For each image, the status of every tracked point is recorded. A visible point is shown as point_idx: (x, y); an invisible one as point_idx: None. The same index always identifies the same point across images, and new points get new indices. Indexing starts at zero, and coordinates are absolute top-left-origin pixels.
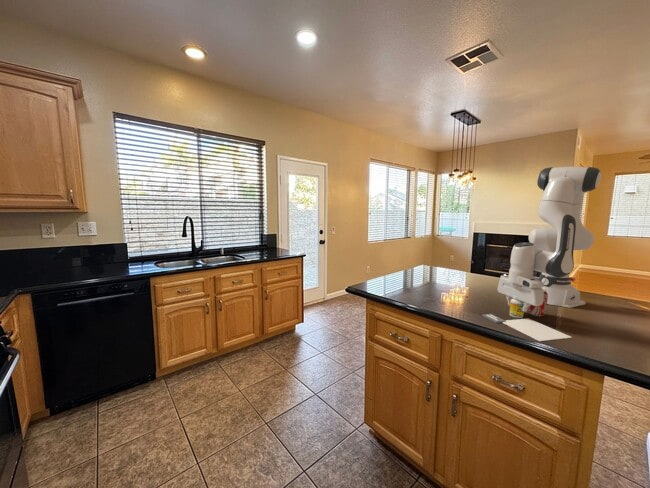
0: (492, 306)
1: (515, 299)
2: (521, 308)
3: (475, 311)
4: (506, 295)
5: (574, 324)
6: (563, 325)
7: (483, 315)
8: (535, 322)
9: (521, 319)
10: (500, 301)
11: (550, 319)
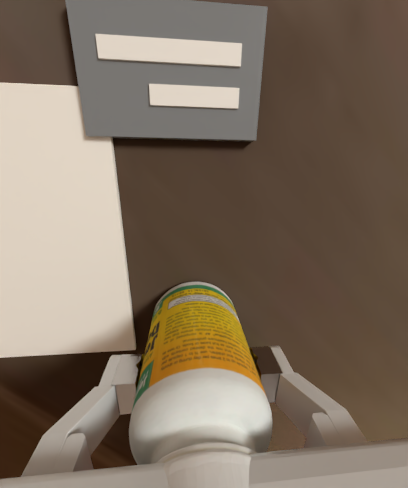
0: (371, 293)
1: (194, 442)
2: (131, 370)
3: (365, 54)
4: (366, 440)
5: None
6: (40, 437)
7: (245, 6)
8: (67, 340)
9: (122, 295)
10: (399, 390)
11: (121, 436)
